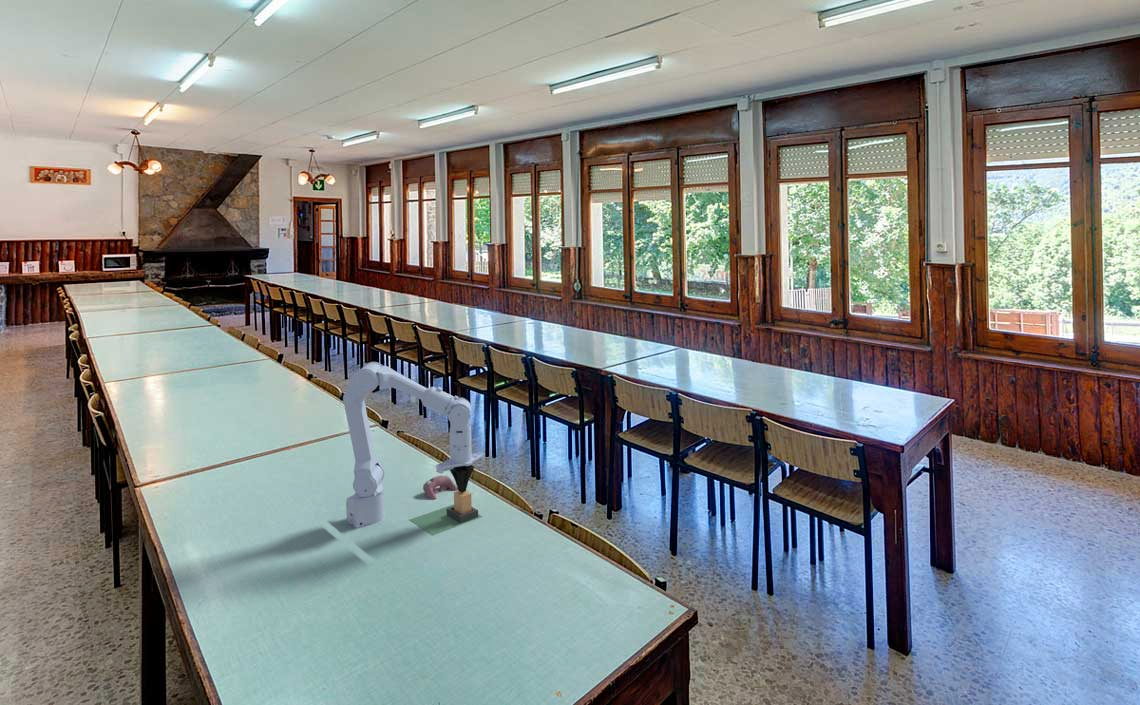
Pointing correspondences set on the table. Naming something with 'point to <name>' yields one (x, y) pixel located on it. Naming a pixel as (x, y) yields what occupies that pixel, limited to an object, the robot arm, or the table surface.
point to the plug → (462, 502)
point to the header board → (444, 519)
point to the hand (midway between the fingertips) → (461, 490)
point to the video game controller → (438, 481)
